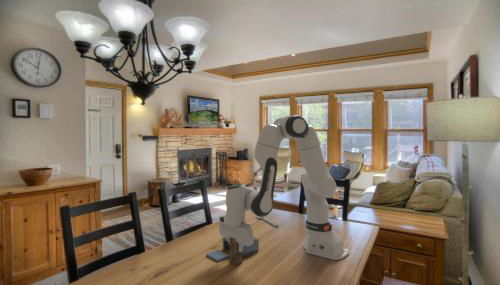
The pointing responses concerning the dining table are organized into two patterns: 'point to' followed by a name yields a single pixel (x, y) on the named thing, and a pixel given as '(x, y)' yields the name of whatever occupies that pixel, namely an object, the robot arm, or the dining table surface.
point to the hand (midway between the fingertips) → (235, 249)
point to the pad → (217, 255)
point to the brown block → (235, 252)
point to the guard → (246, 249)
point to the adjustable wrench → (268, 221)
